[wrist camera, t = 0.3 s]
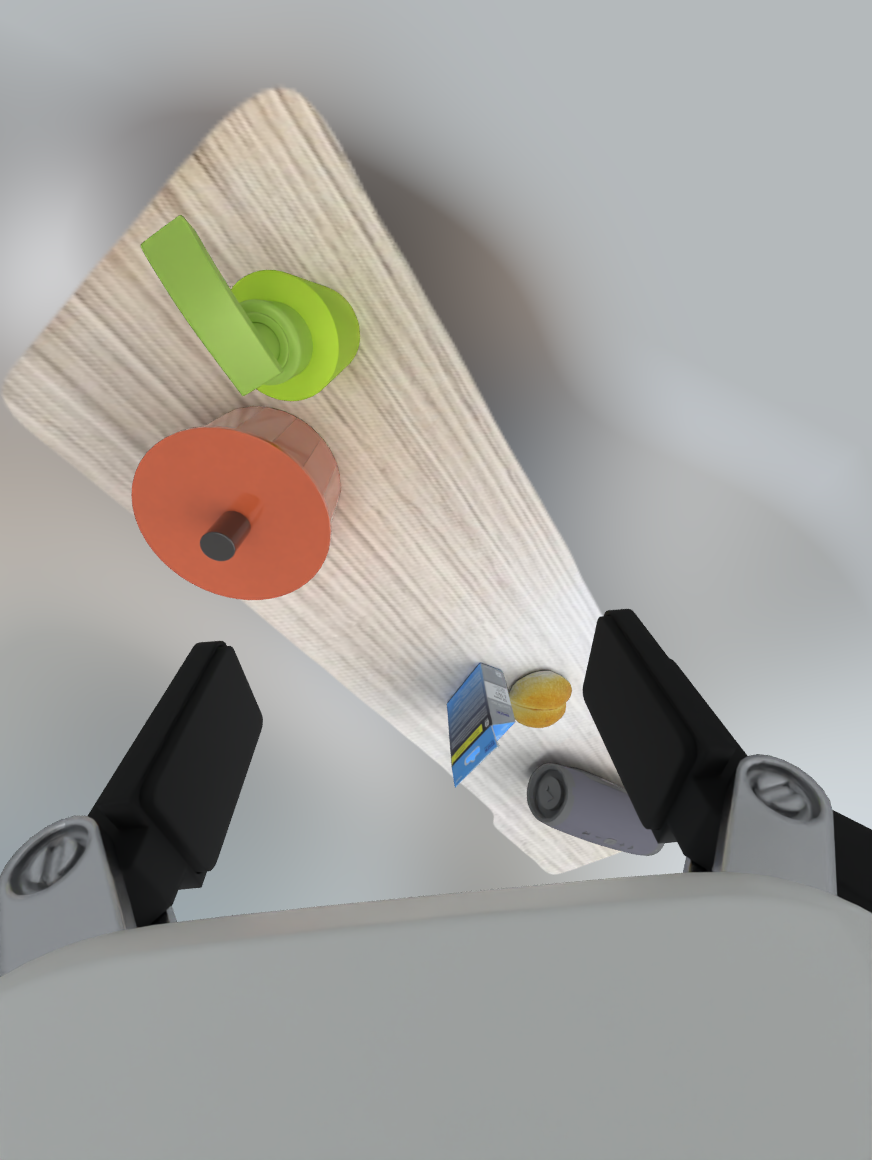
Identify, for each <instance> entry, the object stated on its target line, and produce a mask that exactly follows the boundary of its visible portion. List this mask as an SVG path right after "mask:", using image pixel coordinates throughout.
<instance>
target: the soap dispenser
mask: <svg viewBox="0 0 872 1160" xmlns="http://www.w3.org/2000/svg"><path fill="white" fill-rule="evenodd" d="M141 248H142V250H143V252H144V254H145V256H146V257H147V259H148V261H149V263H150V264H151V266H152V268H153V269H154V271H155V272H156V274H157V276H158V277H159V279H160V281H161V282H162V284H163V285H164V287H165V289H166V290H167V292H168V293H169V295H170V296H171V298H172V299H173V301H174V303H175V304H176V306H177V307H178V309H179V310H180V312H181V313H182V314H183V316H184V317H185V319H186V320H187V322H188V323H189V325H190V326H191V327H192V329H193V330H194V332H195V333H196V334H197V336H198V337H199V339H200V340H201V341H202V343H203V344H204V345H205V347H206V348H207V349H208V351H209V352H210V354H211V355H212V356H213V358H214V359H215V360H216V362H217V363H218V364H219V366H220V367H221V368H222V370H223V371H224V372H225V374H226V375H227V376H228V378H229V379H230V380H231V382H232V383H233V384H234V385H235V387H236V388H237V389H238V391H239V392H240V393H241V395H242V396H245V395H247V394H248V393H250V392H252V391H253V390H255V389H257V390H258V391H260V392H262V393H263V394H265V395H267V396H270V397H272V398H275V399H279V400H284V401H299V400H304V399H307V398H310V397H312V396H314V395H316V394H317V393H319V392H320V391H321V390H322V389H323V388H324V387H325V386H327V385H328V384H329V383H330V382H331V381H332V380H333V379H334V378H335V377H336V376H337V375H338V374H339V373H340V372H341V371H342V370H343V369H344V368H346V367H347V366H348V365H349V364H350V363H351V361H352V360H353V359H354V357H355V355H356V353H357V350H358V347H359V342H360V330H359V324H358V320H357V317H356V315H355V313H354V311H353V309H352V307H351V306H350V304H349V303H348V302H347V301H346V300H345V298H344V297H342V296H341V295H340V294H339V293H337V292H336V291H334V290H332V289H330V288H327V287H325V286H322V285H319V284H316V283H313V282H311V281H308V280H305V279H302V278H299V277H296V276H294V275H291V274H288V273H285V272H281V271H276V270H262V271H257V272H253V273H251V274H249V275H247V276H245V277H243V278H242V279H240V280H239V281H238V282H237V283H236V284H235V285H234V286H233V288H232V289H230V288H229V286H228V285H227V283H226V281H225V280H224V278H223V277H222V275H221V273H220V272H219V270H218V269H217V267H216V265H215V264H214V262H213V260H212V259H211V257H210V255H209V254H208V252H207V250H206V249H205V247H204V245H203V243H202V242H201V240H200V238H199V236H198V235H197V233H196V231H195V230H194V229H193V227H192V226H191V225H190V224H189V223H188V222H187V221H186V219H185V218H184V217H183V216H182V215H180V216H178V217H176V218H175V219H174V220H172V221H171V222H170V223H168V224H167V225H165V226H164V227H163V228H161V229H160V230H159V231H157V232H156V233H155V234H153V235H152V236H151V237H149V238H148V239H147V240H145V241H144V242H143V243H142V244H141Z"/></svg>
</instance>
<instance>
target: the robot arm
mask: <svg viewBox="0 0 872 1160" xmlns="http://www.w3.org/2000/svg"><path fill="white" fill-rule="evenodd" d="M583 697H584V700H585V703H586V705H587V707H588V709H589V711H590V714H591V716H592V718H593V720H594V722H595V724H596V727H597V729H598V731H599V733H600V735H601V737H602V740H603V742H604V744H605V746H606V748H607V750H608V753H609V755H610V757H611V759H612V761H613V763H614V765H615V768H616V770H617V772H618V774H619V776H620V778H621V781H622V783H623V785H624V787H625V789H626V791H627V794H628V796H629V798H630V800H631V802H632V804H633V807H634V809H635V811H636V813H637V815H638V817H639V819H640V821H641V823H642V825H643V826H644V828H646V829H651V830H652V833H653V835H654V837H655V839H656V841H657V843H658V844H660V843H671V842H678V844H679V846H680V848H681V850H682V852H683V854H684V855H685V856H686V861H685V865H684V870H683V873H675V874H662V875H648V876H635V877H621V878H608V879H598V880H587V881H576V882H566V883H555V884H545V885H533V886H523V887H512V888H501V889H490V890H480V891H470V892H460V893H449V894H439V895H430V896H419V897H409V898H399V899H389V900H380V901H368V902H358V903H349V904H338V905H329V906H319V907H309V908H300V909H290V910H281V911H271V912H261V913H251V914H241V915H232V916H224V917H216V918H207V919H200V920H192V921H183V922H177V920H176V917H175V914H174V911H173V908H172V904H173V902H174V899H175V897H176V894H177V892H178V890H181V889H190V888H200V887H202V884H203V881H204V879H205V876H206V873H207V871H211V870H212V869H213V868H214V866H215V864H216V862H217V859H218V857H219V854H220V851H221V848H222V845H223V842H224V839H225V836H226V833H227V830H228V827H229V824H230V821H231V818H232V815H233V812H234V809H235V806H236V803H237V801H238V798H239V794H240V792H241V789H242V786H243V783H244V780H245V777H246V774H247V771H248V768H249V765H250V762H251V759H252V756H253V753H254V750H255V747H256V744H257V741H258V738H259V735H260V733H261V729H262V723H263V718H262V714H261V711H260V709H259V707H258V705H257V702H256V700H255V698H254V695H253V693H252V690H251V688H250V686H249V683H248V681H247V679H246V676H245V674H244V672H243V670H242V667H241V665H240V663H239V660H238V658H237V656H236V653H235V651H234V649H233V647H231V646H227V645H226V643H225V642H223V641H214V642H201V643H197V644H196V645H195V646H194V647H193V648H192V650H191V652H190V653H189V655H188V656H187V658H186V660H185V661H184V663H183V665H182V666H181V667H180V669H179V671H178V672H177V674H176V676H175V677H174V679H173V680H172V682H171V684H170V685H169V687H168V688H167V690H166V692H165V693H164V695H163V696H162V698H161V700H160V701H159V703H158V704H157V706H156V707H155V709H154V711H153V712H152V713H151V715H150V717H149V719H148V720H147V722H146V723H145V725H144V726H143V728H142V730H141V731H140V733H139V734H138V736H137V738H136V739H135V741H134V742H133V744H132V746H131V747H130V749H129V751H128V752H127V754H126V755H125V757H124V758H123V760H122V762H121V763H120V765H119V766H118V768H117V770H116V771H115V773H114V774H113V776H112V778H111V779H110V781H109V783H108V784H107V786H106V787H105V789H104V790H103V792H102V794H101V795H100V797H99V799H98V800H97V802H96V803H95V805H94V806H93V808H92V810H91V812H90V813H89V814H88V816H72V817H68V818H65V819H61V820H59V821H57V822H55V823H53V824H51V825H49V826H47V827H45V828H44V829H42V830H41V831H39V832H38V833H37V834H35V835H34V836H32V837H31V838H30V839H29V840H28V841H27V842H26V843H24V844H23V845H22V846H21V847H20V848H19V849H18V850H17V851H16V852H15V854H14V855H13V856H12V858H11V859H10V860H9V861H8V863H7V864H6V865H5V867H4V869H3V871H2V873H1V875H0V1160H872V830H871V829H869V828H867V827H865V826H863V825H861V824H859V823H857V822H855V821H853V820H851V819H849V818H847V817H845V816H843V815H841V814H840V813H838V812H835V811H834V810H832V807H831V803H830V800H829V798H828V797H827V795H826V794H825V792H824V790H823V789H822V788H821V787H820V786H819V785H818V784H817V783H816V781H815V780H814V779H813V778H812V777H810V776H809V775H807V774H806V773H805V772H803V771H802V770H801V769H800V768H798V767H796V766H794V765H792V764H790V763H789V762H787V761H785V760H782V759H779V758H776V757H773V756H768V755H760V754H756V755H751V756H747V755H746V753H745V752H744V751H743V749H742V748H741V747H740V746H739V744H738V743H737V742H736V740H735V739H734V738H733V736H732V735H731V734H730V733H729V731H728V730H727V729H726V727H725V726H724V725H723V724H722V722H721V721H720V720H719V718H718V717H717V716H716V714H715V713H714V712H713V711H712V709H711V708H710V707H709V705H708V704H707V703H706V702H705V700H704V699H703V698H702V696H701V695H700V694H699V692H698V691H697V690H696V689H695V687H694V686H693V685H692V683H691V682H690V681H689V679H688V678H687V677H686V676H685V674H684V673H683V672H682V670H681V669H680V668H679V666H678V665H677V664H676V663H675V662H674V661H673V660H672V659H670V658H669V657H668V656H667V655H666V654H665V652H664V651H663V650H662V649H661V647H660V646H659V644H658V643H657V642H656V640H655V639H654V638H653V636H652V635H651V634H650V633H649V631H648V630H647V629H646V627H645V626H644V625H643V623H642V622H641V621H640V619H639V618H638V617H637V615H636V614H635V613H634V612H633V611H632V610H631V609H621V610H608V611H606V612H605V614H604V616H603V617H599V618H598V621H597V625H596V630H595V634H594V639H593V643H592V648H591V652H590V657H589V662H588V666H587V671H586V675H585V680H584V684H583Z"/></svg>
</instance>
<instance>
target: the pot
mask: <svg viewBox="0 0 872 1160" xmlns="http://www.w3.org/2000/svg"><path fill="white" fill-rule="evenodd" d="M205 426H223V427H230V428H236V429H240V430H243V431H247V432H250V433H253V434H255V435H258V436H260V437H263V438H265V439H267V440H269V441H270V442H272V443H274V444H276V445H278V446H279V447H280V448H282V449H283V450H285V451H286V452H288V453H289V454H290V455H291V456H293V457H294V458H295V459H296V460H297V461H298V462H299V463H300V464H301V465H302V466H303V467H304V468H305V469H306V470H307V471H308V472H309V474H310V475H311V476H312V478H313V479H314V480H315V482H316V483H317V485H318V487H319V488H320V490H321V492H322V494H323V496H324V498H325V501H326V503H327V506H328V510H329V514H330V519H331V523H332V520H333V517H334V514H335V511H336V507H337V503H338V500H339V496H340V492H341V486H340V474H339V470H338V466H337V463H336V460H335V458H334V456H333V454H332V452H331V450H330V448H329V447H328V445H327V444H326V442H325V441H324V440H323V439H322V438H321V436H320V435H319V434H318V433H317V432H316V431H315V430H314V429H313V428H311V427H310V426H309V425H308V424H306V423H305V422H304V421H302V420H300V419H299V418H297V417H295V416H293V415H291V414H289V413H287V412H284V411H281V410H278V409H274V408H269V407H258V406H252V407H244V408H236V409H234V410H232V411H230V412H228V413H226V414H224V415H223V416H221V417H219V418H217V419H215V420H213V421H212V422H210V423H208V424H206V425H205Z"/></svg>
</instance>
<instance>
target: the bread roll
mask: <svg viewBox="0 0 872 1160" xmlns="http://www.w3.org/2000/svg"><path fill="white" fill-rule="evenodd" d="M571 692H572V688H571V685H570V683H569V682H568V681H567V680H566V679H565V678H563V677H562V676H560V675H558V674H556V673H554V672H552V671H539V672H534V673H531V674H529V675H527V676H525V677H523V678H521V679H520V680H518V681H517V682H516V683H515V684H514V685H513V687H512V688H511V690H510V693H509V698H510V702H511V706H512V710H513V714H514V718H515V720H517V721H518V722H519V723H521V724H523V725H525V726H528V727H534V728H543V727H548V726H550V725H552V724H554V723H555V722H557V721H558V720H559V719H560V718H561V717H562V716H563V715H564V713H565V710H566V702H567V701H568V699H569V698H570V696H571Z"/></svg>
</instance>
